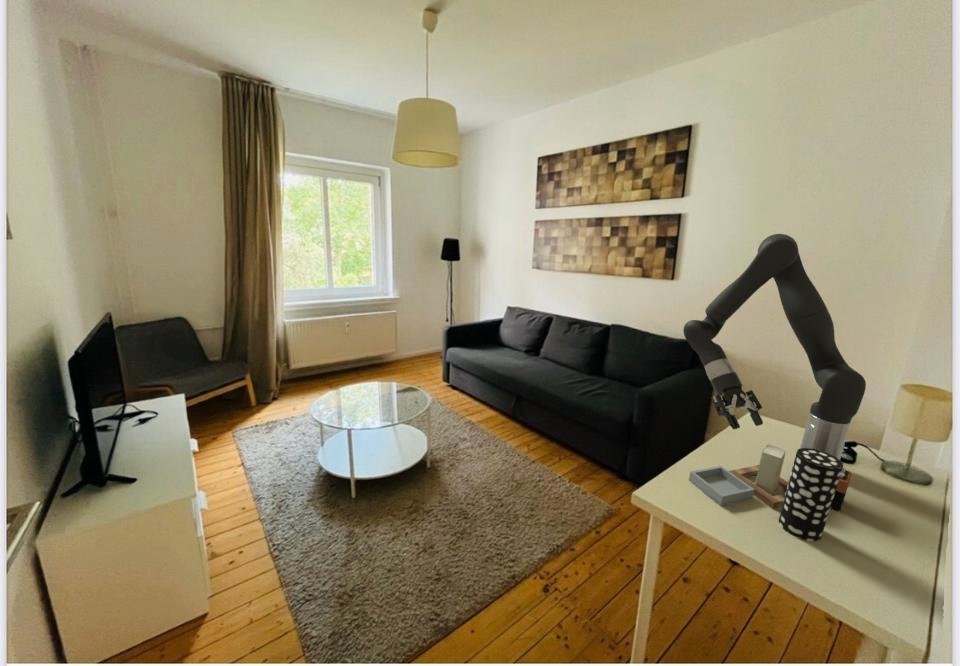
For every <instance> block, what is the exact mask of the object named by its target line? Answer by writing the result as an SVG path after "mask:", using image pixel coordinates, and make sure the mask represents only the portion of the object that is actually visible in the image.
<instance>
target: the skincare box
mask: <svg viewBox="0 0 960 666" xmlns="http://www.w3.org/2000/svg"><path fill="white" fill-rule="evenodd" d="M786 453H787V450H786V449H784V448H780V447H777V446H774V445H771V444H767V445H766V446H765V447H764V448H763V450H762V452H761V456H760V461H759V464H758V465H759V469H758V474H757V476H756V478H755V483H754V484H755V485H757V486H758V487H760V488H761V489H763V490H764V491H766V492H767V493H769V494H770V495H772V496H774V494H775V492H776V490H777V489H778V487H777V486H778V482H779V478H780V477H781V472H782V468H783V464H784V461H785V456H786Z"/></svg>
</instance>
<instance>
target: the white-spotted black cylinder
mask: <svg viewBox="0 0 960 666" xmlns="http://www.w3.org/2000/svg"><path fill="white" fill-rule="evenodd" d="M843 468H844V463H843V461H841V459H840V460H839V459H838V458H836V457H835V456H833V455H831V454H829V453H826V452H823V451H820V450H817V449H811V448H800V447H799V448H798V449H797V450H796V453H795V457H794V461H793V465H792V469H791V472H790V476H789V479H788V482H789V483H788V486H787V490H786V492H785V493H784V494H785V498H784V501H783V505H782V507H781V509H780V510H781V511H780V512H779V517H778V523H779V526H780V527H782V529H783V530H784V531H785V532H787V533H788V534H790V535H791V536H793V537H795V538H798V539H801V540H804V541H807V542H819V541H820V540H822V537H823V534H824V529H825V527H826V524H827V520H828V517H829V515H830V511H831V509H832V508H831V504H832V501H833V498H834V495H835V491H836V488H837V485H838V482H839V478H840V475H841V472H842V469H843Z"/></svg>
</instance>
